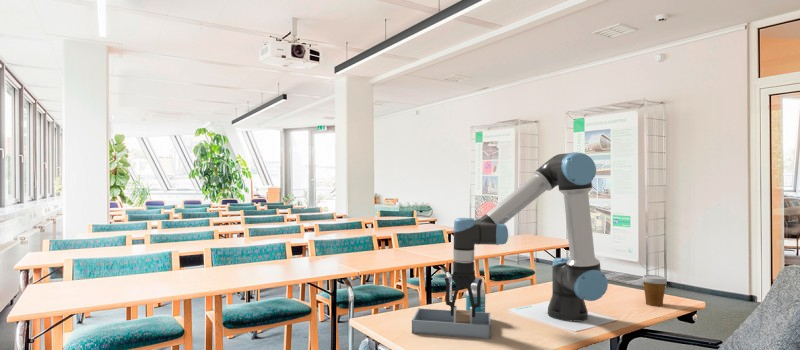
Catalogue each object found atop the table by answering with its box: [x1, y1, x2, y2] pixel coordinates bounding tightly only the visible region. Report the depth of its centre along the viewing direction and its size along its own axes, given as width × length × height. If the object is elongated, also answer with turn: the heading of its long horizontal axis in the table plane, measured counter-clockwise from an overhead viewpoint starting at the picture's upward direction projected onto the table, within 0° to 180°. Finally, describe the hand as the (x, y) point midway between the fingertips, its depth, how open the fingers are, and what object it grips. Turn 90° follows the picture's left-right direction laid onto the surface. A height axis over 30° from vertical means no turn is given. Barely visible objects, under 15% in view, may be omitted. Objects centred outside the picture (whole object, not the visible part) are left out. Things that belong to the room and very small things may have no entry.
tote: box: [411, 307, 491, 340], centre depth 169 cm, size 27×15×4 cm, turn 79°
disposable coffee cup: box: [641, 274, 668, 307], centre depth 203 cm, size 10×10×12 cm
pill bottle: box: [465, 282, 486, 313], centre depth 181 cm, size 8×7×14 cm
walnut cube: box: [456, 309, 470, 324], centre depth 168 cm, size 5×5×5 cm
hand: (462, 325), depth 168 cm, fingers closed on walnut cube, 5 cm apart
